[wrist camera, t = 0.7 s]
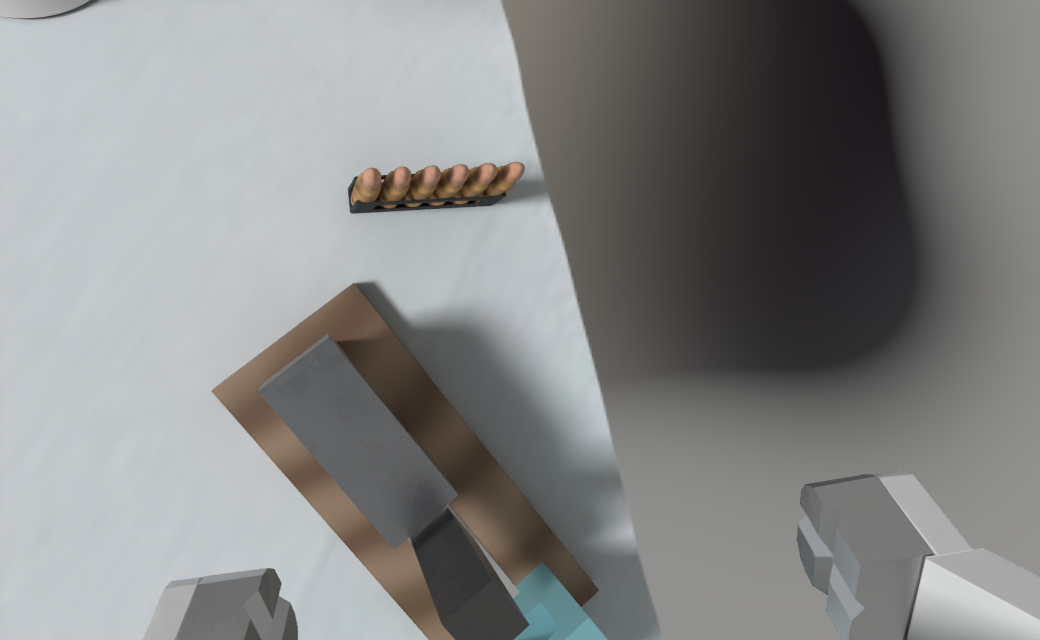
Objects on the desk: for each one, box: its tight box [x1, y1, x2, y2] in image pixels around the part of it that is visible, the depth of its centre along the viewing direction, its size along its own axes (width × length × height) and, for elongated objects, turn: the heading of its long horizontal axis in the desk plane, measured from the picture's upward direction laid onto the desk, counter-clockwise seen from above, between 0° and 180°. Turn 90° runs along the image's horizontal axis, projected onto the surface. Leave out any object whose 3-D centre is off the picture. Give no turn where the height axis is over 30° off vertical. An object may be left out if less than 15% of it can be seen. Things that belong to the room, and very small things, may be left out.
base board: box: [212, 283, 599, 640], centre depth 52 cm, size 30×12×6 cm, turn 38°
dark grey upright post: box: [408, 503, 530, 640], centre depth 40 cm, size 19×3×15 cm, turn 38°
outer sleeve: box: [258, 333, 458, 550], centre depth 45 cm, size 12×5×5 cm, turn 38°
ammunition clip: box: [348, 162, 525, 213], centre depth 48 cm, size 11×2×12 cm, turn 95°
